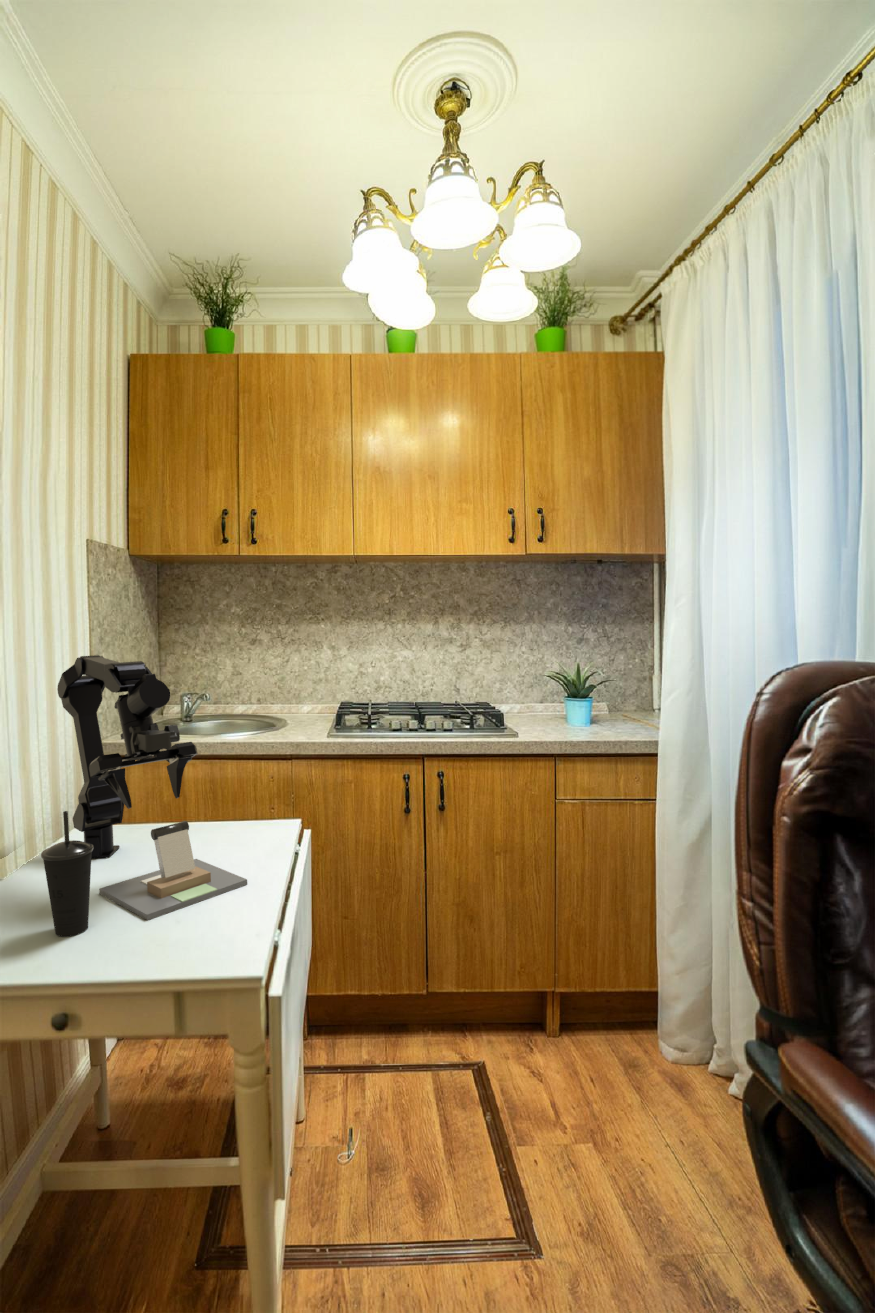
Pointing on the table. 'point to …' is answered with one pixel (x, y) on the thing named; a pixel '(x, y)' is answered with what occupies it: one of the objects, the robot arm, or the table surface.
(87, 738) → the robot arm
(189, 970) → the table surface
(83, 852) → the drinking cup
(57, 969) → the table surface
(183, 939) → the table surface
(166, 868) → the bench scraper
